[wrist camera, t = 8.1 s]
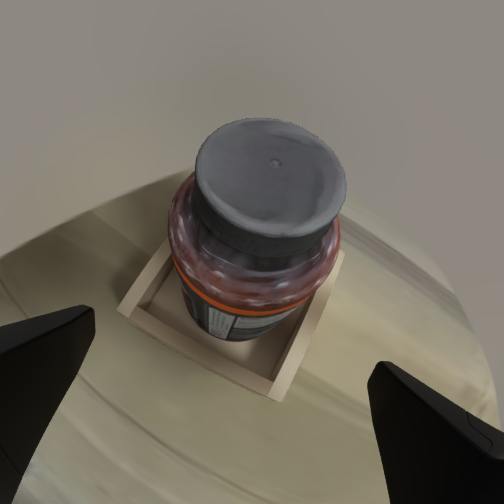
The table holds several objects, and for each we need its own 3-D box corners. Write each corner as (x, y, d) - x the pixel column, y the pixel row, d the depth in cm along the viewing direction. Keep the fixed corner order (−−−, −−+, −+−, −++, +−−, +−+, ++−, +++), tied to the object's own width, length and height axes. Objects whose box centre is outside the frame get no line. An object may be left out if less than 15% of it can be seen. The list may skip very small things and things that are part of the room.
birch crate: (270, 401, 15) (281, 402, 13) (127, 320, 16) (116, 309, 14) (330, 268, 20) (345, 252, 18) (207, 204, 21) (208, 182, 18)
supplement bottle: (182, 250, 18) (164, 94, 8) (276, 246, 19) (344, 103, 9) (187, 348, 16) (147, 281, 5) (291, 339, 17) (410, 263, 6)
